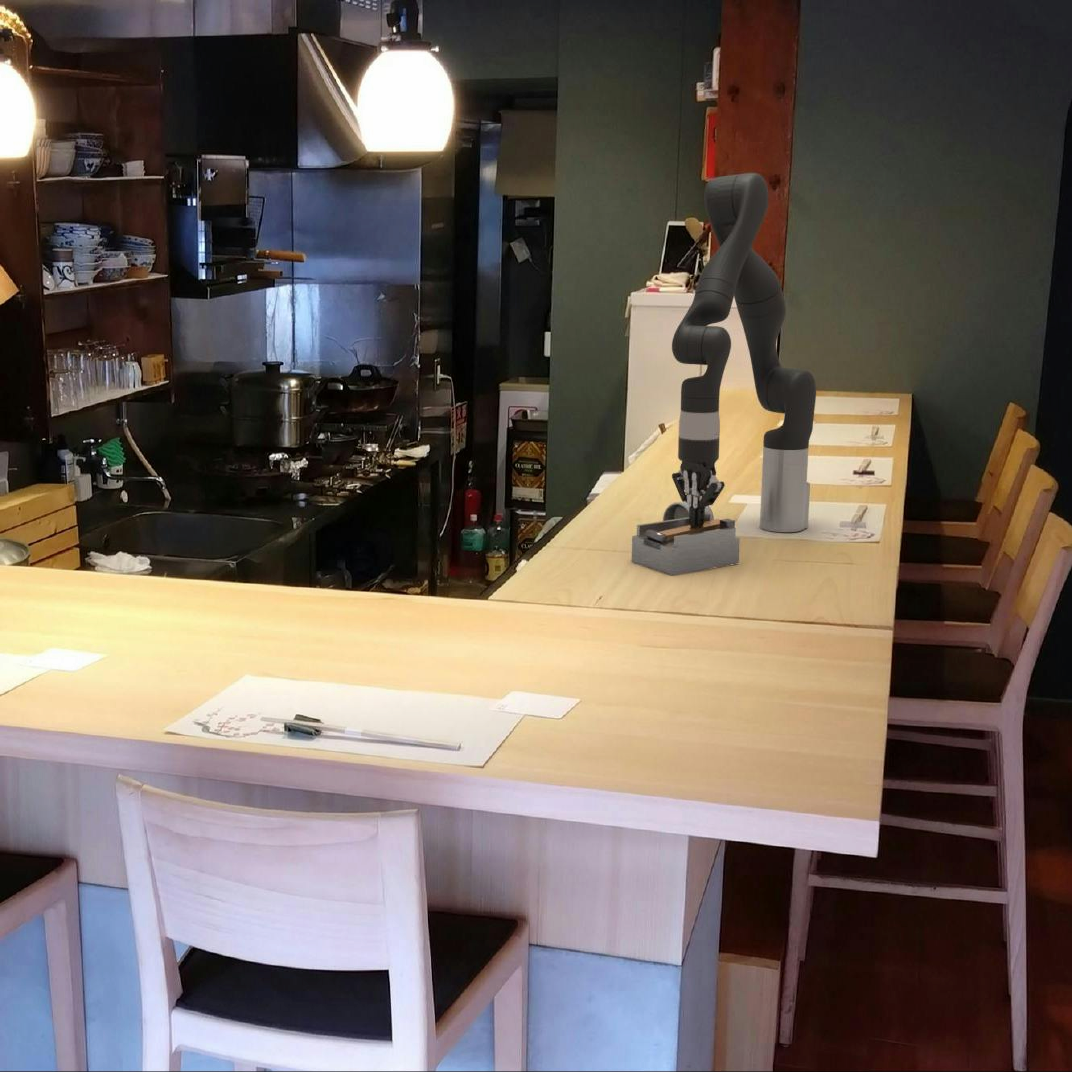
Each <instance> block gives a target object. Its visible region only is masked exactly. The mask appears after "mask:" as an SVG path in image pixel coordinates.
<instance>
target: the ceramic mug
mask: <svg viewBox="0 0 1072 1072" xmlns="http://www.w3.org/2000/svg"><path fill="white" fill-rule="evenodd" d="M705 513H709V514H710V521H711V520H715V519H714V513H713V510H712V509H711V507H710V505H709V506H706V507H705ZM688 517H689V506H688V505H687V502H683V501H679V502H678V501H677V502H673V503H671V504H669V505H668V506H667V507H666V509H665V510H664V511H663V516H662V521H667V520H674V519H681V518H688Z"/></svg>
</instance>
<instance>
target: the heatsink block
mask: <svg viewBox="0 0 1072 1072" xmlns="http://www.w3.org/2000/svg"><path fill="white" fill-rule="evenodd" d="M704 517H705V518H704V519H705V521H704V522H706V521H710V514H709V513H705V516H704ZM719 520H720V528H719V529H717V530H711V531H705V532H699V533H692V534H686V535H679V536H674V539H673V540H668V541H666V542H665V543H662V542H659V541H655V540H652V539H649V538H647V537H646V535H645V534H646V531H647V530H652V531H656V532H661V531H665V530H670V529H674V528H679V527H683V526H688V525H690V522H689V517H688V518H681V519H674V520H667V521H663V520H660V521H655V522H654V521H653V522H647V523H640V524H636V534H635V535H631V563H634V564H637V565H639V566H642V567H646V568H648V569H652V570H655V571H657V572H660V573H664V574H667V575H669V576H679V575H682V574H688V573H695V572H701V571H707V570H711V569H710V568H713V567H718V568H723V567H722V566H724V567H728V566H727V565H730V566H732V565H731V564H736V563H740V542H741V539H740V537H738V536H736V531H737V530H736V529H737V528H736V520H734V519H730V518H725V519H719ZM736 565H737V564H736ZM706 569H707V570H706ZM713 569H714V568H713Z"/></svg>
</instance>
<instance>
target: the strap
mask: <svg viewBox="0 0 1072 1072" xmlns="http://www.w3.org/2000/svg"><path fill="white" fill-rule="evenodd" d="M720 520H721V519H719V518H716V519H714V520H711V521H706V522H704V525H703V526H701V527H696V528H695V527H692V526H690V525H688V526H683V527H679V528H674V529H670V530H665V531H661V532H656V531H652V530H647V531H646V534H645V535H646V537H647V538H649V539H652V540H655V541H659V542H662V543H665V542H666V541H668V540H673V539H674V536H679V535H686V534H692V533H699V532H705V531H711V530H718V529H719V528H720Z"/></svg>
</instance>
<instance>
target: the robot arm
mask: <svg viewBox="0 0 1072 1072" xmlns="http://www.w3.org/2000/svg"><path fill="white" fill-rule="evenodd" d="M766 182H767V181H766V180H765V179H764V177H763V176H762V175H760V173H755V172H748V173H741V174H729V175H725V176H724V175H723V176H718V177H714V178H711V179H709V181H708V182H707V183H706V184H705V188H704V196H703V197H704V205H705V210H706V214H707V218H708V220H709V223H710V226H711V228H712V231H713V234H714V236H715V239H716V242H717V244H718V246H719V248H718V249H717V250H716V252H715V253H713V255H712V256H711V257H710V259H708V261H707V262H706V264H705V265H704V267H703V268H702V271H701V273H700V275H699V278H698V281H697V285H696V288H695V293H694V297H693V300H692V303H691V305H690V306H689V308H688V310H687V312H686V313H685V315H684V316H683V318H682V320H681V321H680V323H679V325H678V326H677V328H676V330H675V332H674V334H673V338H672V341H671V351H672V355H673V357H674V359H675V360H676V361H677V362H678V363H680V364H683V365H701V366H706V370H705V372H704V374H703V375H699V376H692V377H688V378H685V379H684V380H683V381H682V383H681V386H680V413H679V420H678V438H677V439H678V442H677V443H678V445H677V450H678V451H677V452H678V453H677V459H679V461H681V463H680V467H679V468H680V469H679V470H678V471H677V472H673V473H672V475H671V478H672V481H673V483H674V486H675V489H676V490H677V493H678V494H679V497H680V500H681V502H687V505H688V506H689V522H690V526H692V527H695V528H696V527H701V526H703V525H704V521H705V519H704V518H705V517H704V516H705V507H706V506H709V507H710V506H713V505H714V504H715V502H716V501H717V498H719V496H720V494H721V493H722V491H723V490H724V488H725V482H724V481H719V479H718V478H717V470H716V467H715V465H716V462H717V461H718V460H720V458H719V457H720V436H721V434H720V433H721V420H720V391H721V384H722V380H723V377H724V376H723V375H724V372H725V369H726V365H727V363H728V359H729V357H730V354H731V349H732V339H731V336H730V334H729V331H727V329H726V328H724V327H723V326H718V325H717V326H715V325H713V324H718V323H720V322H723V321H725V320H726V319H728V317H729V315H730V312H731V308H732V306H733V305H732V304H733V301H735V304H736V308H737V309H736V310H737V312H738V315H739V318H740V321H741V326H742V328H743V333H744V335H745V336H744V337H745V340H746V344H747V349H748V353H749V357H750V362H751V368H752V376H753V380H754V381H753V382H754V388H755V392H756V396H757V399H758V402H759V404H760V406H761V407H762V409H764V410H765V411H768V412H771V413H778V414H784V419H783V422H782V425H781V426H779V427H777V428H774V429H771V430H768V431H766V432H765V433H764V435H763V445H762V446H763V447H762V464H761V465H762V467H761V468H762V469H761V486H760V487H761V489H760V490H761V491H760V493H761V494H760V511H759V513H760V515H759V528H760V529H762V530H765V531H769V532H776V533H797V532H801V531H804V530H805V529H807V528H809V517H810V516H809V515H810V514H809V512H810V511H809V510H810V496H811V483H809V482H808V467H809V466H808V465H809V450H810V449H809V446H810V439H811V436H812V434H813V433H812V432H813V429H814V419H815V418H814V417H815V407H816V399H817V383H816V380H815V377H814V376H813V374H812V373H811V372H810V371H808V370H804V369H798V368H789V367H783V366H782V365H781V363H780V359H779V356H778V351H777V350H778V349H777V340H778V337H779V334H780V331H781V330H782V327H783V324H784V321H785V317H786V313H787V312H786V311H787V309H786V301H785V298H784V294H783V290H782V285H781V281H780V279H779V277H778V275H777V273H776V272H775V271H774V270H773V268H772V267H771V266H770V265H769V264H768V263H767V262H766V261H765V260H764V258H762V257H761V256H760V255H759V254H758V253H757V252H756V251H755V250H754V249H753V245H754V243H755V240H756V238H757V236H758V233H759V231H760V229H761V226H762V225H763V222H764V219H765V217H766V214H767V211H768V207H769V199H770V197H769V189H768V184H767V183H766Z"/></svg>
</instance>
